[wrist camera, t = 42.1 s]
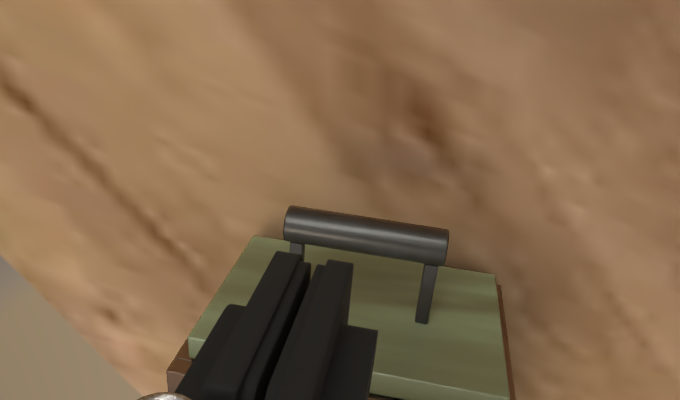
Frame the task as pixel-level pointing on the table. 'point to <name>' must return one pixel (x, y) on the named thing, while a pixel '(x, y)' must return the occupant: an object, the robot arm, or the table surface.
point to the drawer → (391, 303)
